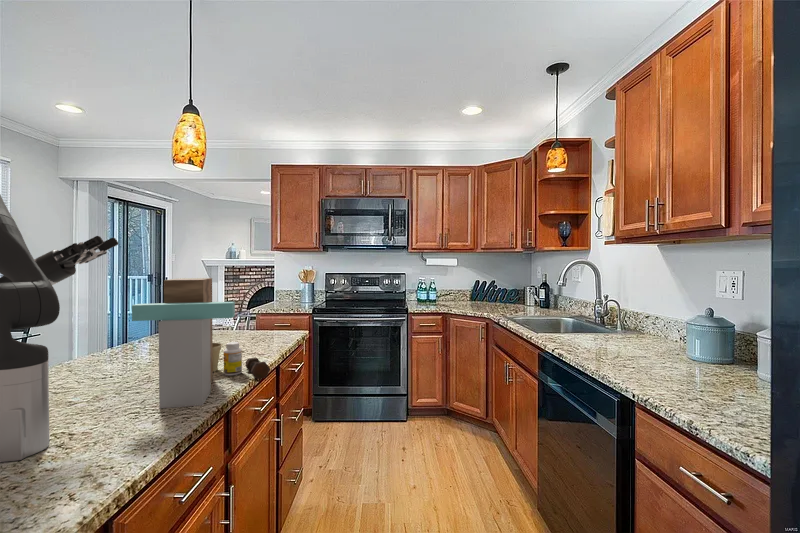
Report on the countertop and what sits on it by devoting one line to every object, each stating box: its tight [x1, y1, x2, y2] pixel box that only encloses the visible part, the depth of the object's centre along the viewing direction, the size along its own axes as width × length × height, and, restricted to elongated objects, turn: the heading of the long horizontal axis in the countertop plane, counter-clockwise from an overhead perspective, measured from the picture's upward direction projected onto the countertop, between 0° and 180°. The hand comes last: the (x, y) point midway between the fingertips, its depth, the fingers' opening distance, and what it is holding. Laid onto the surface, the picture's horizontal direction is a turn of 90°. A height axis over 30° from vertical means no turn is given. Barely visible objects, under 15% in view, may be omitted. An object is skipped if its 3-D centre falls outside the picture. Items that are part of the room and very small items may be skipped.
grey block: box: [158, 319, 212, 409], centre depth 108 cm, size 10×10×22 cm
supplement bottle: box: [223, 341, 243, 377], centre depth 133 cm, size 6×6×10 cm
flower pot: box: [212, 342, 223, 373], centre depth 137 cm, size 9×9×9 cm
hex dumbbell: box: [244, 357, 271, 380], centre depth 135 cm, size 6×5×15 cm
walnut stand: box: [163, 277, 214, 383], centre depth 119 cm, size 12×10×32 cm
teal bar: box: [131, 301, 236, 322], centre depth 108 cm, size 4×24×4 cm, turn 104°
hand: (109, 239), depth 107 cm, fingers open, 8 cm apart
